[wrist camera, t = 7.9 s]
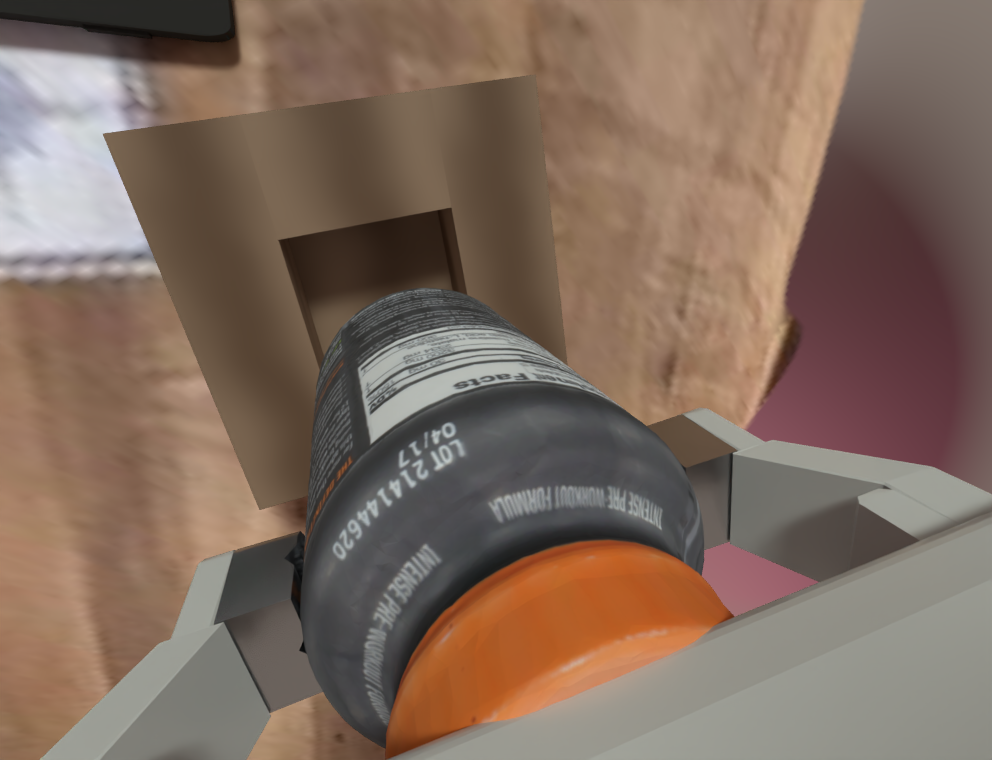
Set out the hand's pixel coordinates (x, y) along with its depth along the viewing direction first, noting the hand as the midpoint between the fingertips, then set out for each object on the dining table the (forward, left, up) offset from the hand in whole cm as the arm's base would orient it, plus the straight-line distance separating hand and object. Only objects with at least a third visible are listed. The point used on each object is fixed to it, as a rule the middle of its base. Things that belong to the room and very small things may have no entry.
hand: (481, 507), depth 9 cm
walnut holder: (0, 0, -23) cm, 23 cm away
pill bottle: (0, 0, -6) cm, 6 cm away
